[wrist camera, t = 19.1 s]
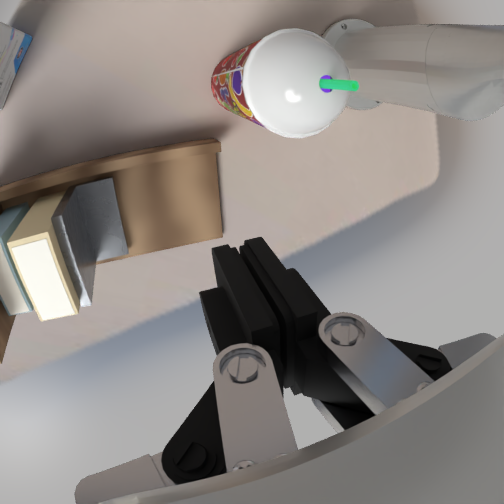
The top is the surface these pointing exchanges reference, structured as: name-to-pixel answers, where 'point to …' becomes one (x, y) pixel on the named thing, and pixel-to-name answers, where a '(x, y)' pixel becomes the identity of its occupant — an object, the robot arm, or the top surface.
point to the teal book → (12, 264)
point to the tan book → (43, 261)
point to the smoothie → (285, 83)
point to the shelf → (140, 198)
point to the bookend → (88, 231)
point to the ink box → (10, 56)
